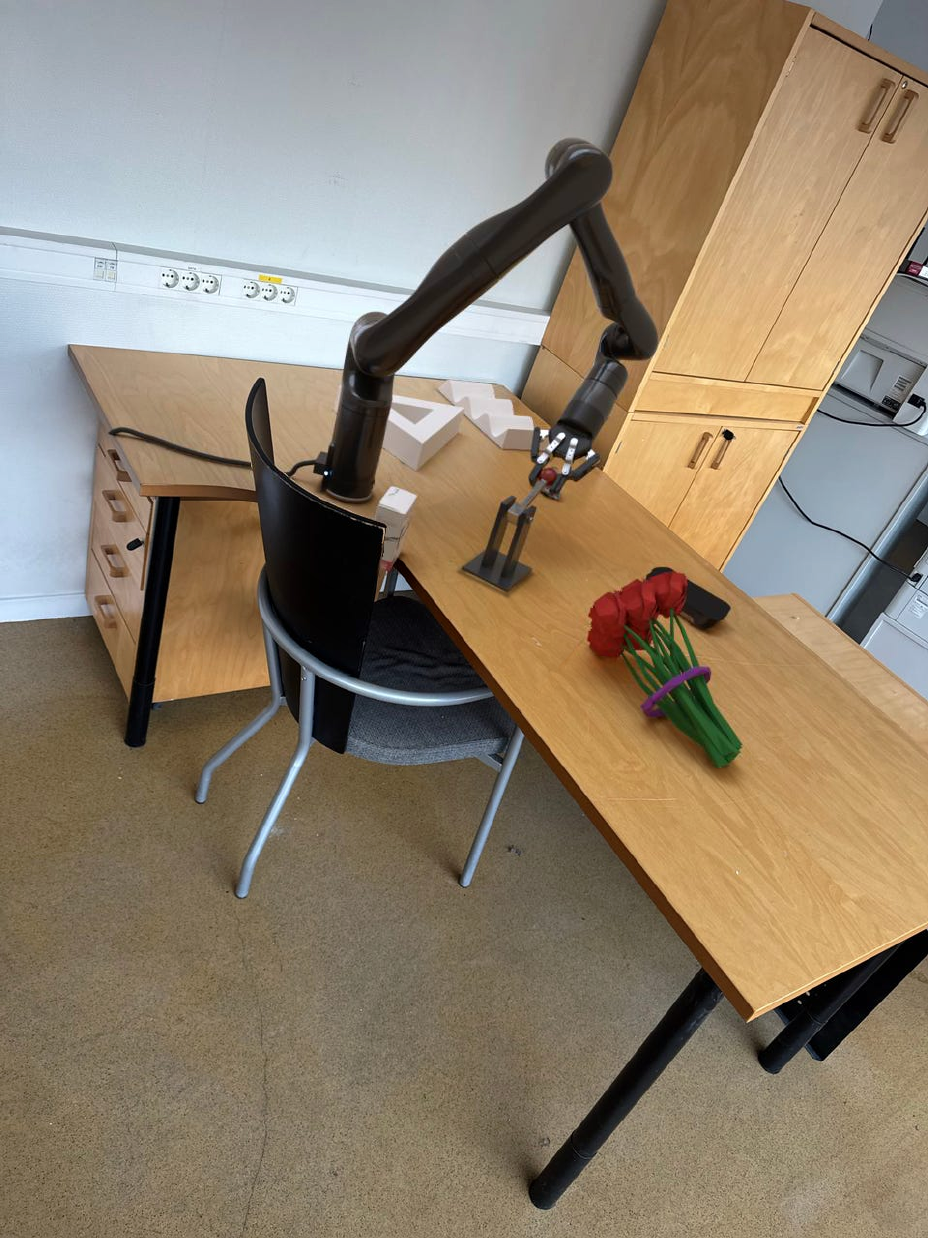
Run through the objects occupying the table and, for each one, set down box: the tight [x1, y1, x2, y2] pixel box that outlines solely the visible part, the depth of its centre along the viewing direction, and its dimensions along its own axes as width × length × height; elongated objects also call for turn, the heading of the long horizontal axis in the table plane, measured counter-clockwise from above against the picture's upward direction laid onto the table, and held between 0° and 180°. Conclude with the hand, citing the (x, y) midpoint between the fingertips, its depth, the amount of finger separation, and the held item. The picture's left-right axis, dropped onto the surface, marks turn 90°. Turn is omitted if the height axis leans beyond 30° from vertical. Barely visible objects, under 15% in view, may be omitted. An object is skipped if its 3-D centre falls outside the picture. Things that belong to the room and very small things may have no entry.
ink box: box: [373, 485, 418, 573], centre depth 140 cm, size 9×5×12 cm, turn 168°
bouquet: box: [586, 570, 743, 769], centre depth 125 cm, size 20×16×30 cm
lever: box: [506, 467, 558, 527], centre depth 147 cm, size 15×3×3 cm, turn 153°
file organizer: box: [437, 379, 549, 452], centre depth 215 cm, size 13×35×5 cm, turn 28°
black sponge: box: [645, 566, 732, 630], centre depth 157 cm, size 16×8×4 cm, turn 46°
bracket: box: [461, 495, 538, 593], centre depth 146 cm, size 11×9×14 cm
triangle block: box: [333, 384, 465, 472], centre depth 192 cm, size 30×26×6 cm
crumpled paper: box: [533, 466, 562, 500], centre depth 184 cm, size 4×8×7 cm, turn 30°
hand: (541, 488), depth 150 cm, fingers closed on lever, 3 cm apart
